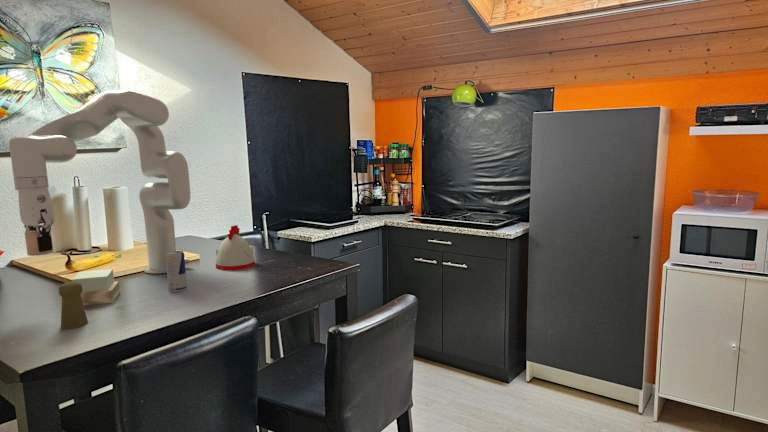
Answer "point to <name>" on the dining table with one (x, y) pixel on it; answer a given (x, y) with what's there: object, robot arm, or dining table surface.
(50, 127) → the robot arm
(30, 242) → the pink cube
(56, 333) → the dining table surface
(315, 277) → the dining table surface
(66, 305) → the olive pepper mill
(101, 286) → the tower top
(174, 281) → the energy drink
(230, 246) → the white beanie hat
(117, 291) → the tower base
